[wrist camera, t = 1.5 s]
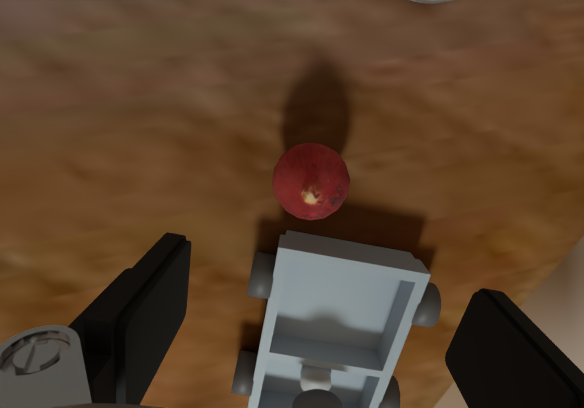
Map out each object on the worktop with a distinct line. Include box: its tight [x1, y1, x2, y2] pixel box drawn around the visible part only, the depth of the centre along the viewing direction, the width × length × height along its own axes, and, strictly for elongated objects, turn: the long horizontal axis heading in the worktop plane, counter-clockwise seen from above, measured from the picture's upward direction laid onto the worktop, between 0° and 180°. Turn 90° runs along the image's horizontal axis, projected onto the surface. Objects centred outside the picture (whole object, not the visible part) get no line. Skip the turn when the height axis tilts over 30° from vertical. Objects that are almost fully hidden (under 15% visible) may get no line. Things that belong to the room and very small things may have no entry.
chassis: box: [231, 230, 441, 408], centre depth 31 cm, size 20×17×4 cm
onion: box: [272, 142, 350, 220], centre depth 23 cm, size 6×6×8 cm
